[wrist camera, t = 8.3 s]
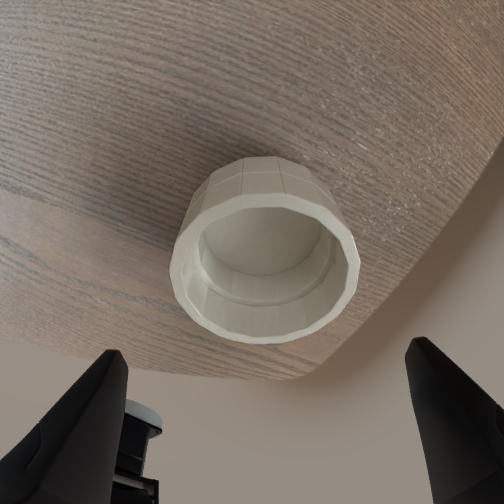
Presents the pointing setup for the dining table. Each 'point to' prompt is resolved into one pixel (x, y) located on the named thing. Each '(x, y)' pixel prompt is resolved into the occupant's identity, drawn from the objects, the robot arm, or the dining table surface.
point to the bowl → (264, 253)
